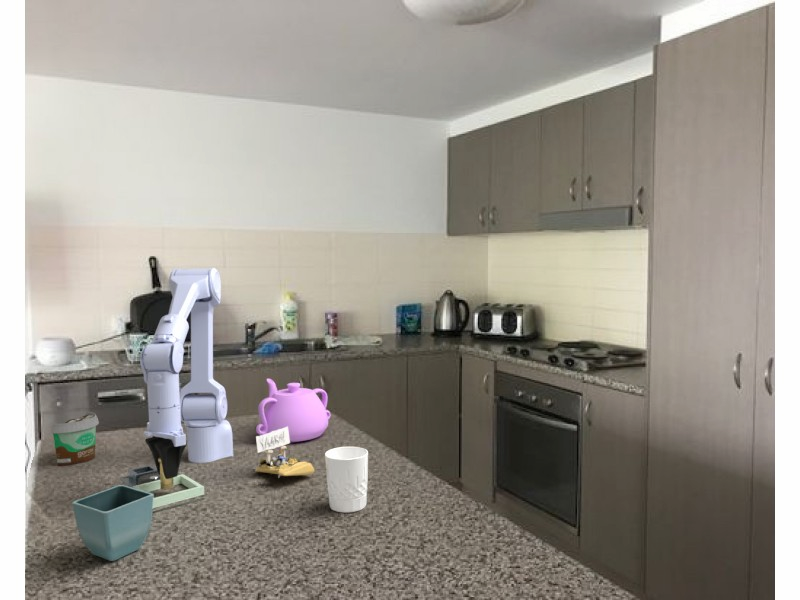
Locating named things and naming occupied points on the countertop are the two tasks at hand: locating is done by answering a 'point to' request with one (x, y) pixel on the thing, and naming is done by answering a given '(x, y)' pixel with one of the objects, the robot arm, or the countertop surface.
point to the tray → (193, 491)
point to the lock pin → (164, 479)
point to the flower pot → (114, 520)
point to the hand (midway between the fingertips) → (167, 475)
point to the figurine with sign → (280, 456)
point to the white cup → (347, 478)
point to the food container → (75, 440)
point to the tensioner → (141, 476)
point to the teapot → (294, 412)
